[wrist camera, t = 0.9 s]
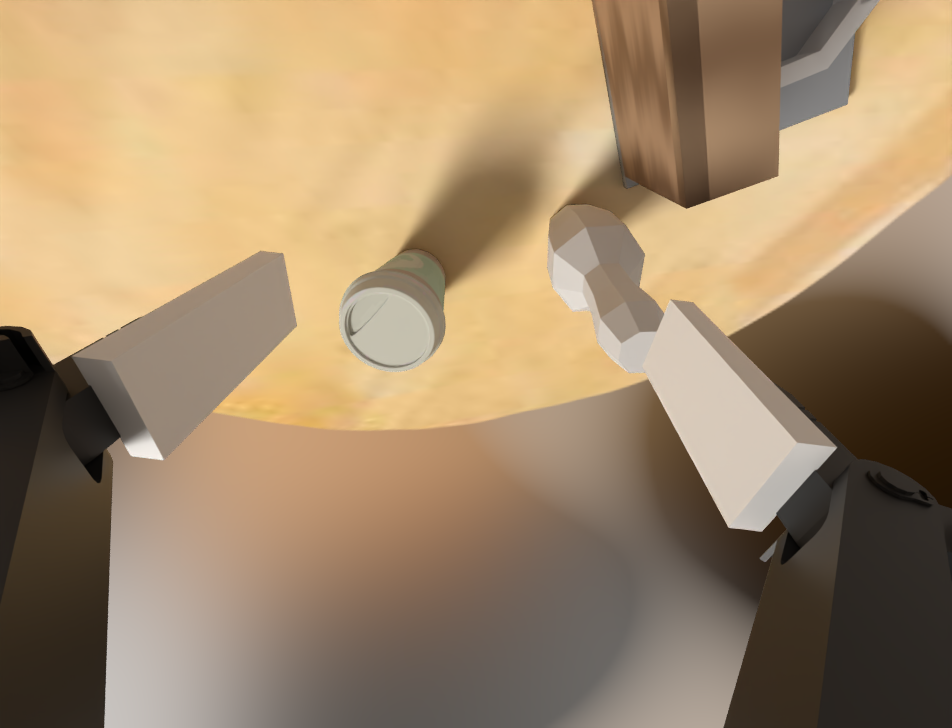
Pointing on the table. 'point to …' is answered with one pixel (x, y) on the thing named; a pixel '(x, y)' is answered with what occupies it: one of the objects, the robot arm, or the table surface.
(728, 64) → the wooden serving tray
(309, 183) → the table surface
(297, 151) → the table surface
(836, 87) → the socket board
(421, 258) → the coffee cup
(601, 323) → the low poly bottle
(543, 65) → the table surface
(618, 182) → the table surface
